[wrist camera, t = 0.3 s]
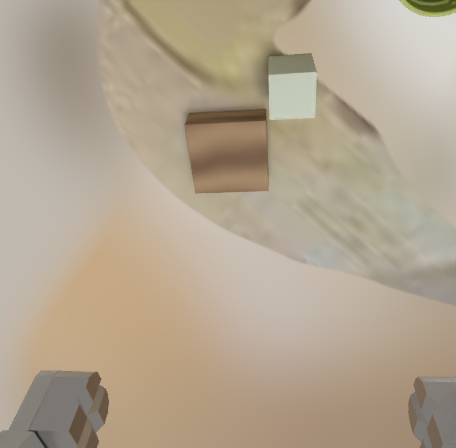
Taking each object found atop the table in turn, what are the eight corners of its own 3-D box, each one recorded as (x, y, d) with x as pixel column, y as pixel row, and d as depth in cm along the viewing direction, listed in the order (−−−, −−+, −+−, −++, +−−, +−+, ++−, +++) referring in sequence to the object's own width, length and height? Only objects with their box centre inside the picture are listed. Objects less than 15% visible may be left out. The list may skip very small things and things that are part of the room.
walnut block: (189, 112, 55) (184, 124, 52) (266, 108, 54) (266, 120, 51) (199, 178, 61) (195, 193, 58) (268, 175, 60) (268, 190, 57)
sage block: (268, 56, 50) (268, 74, 44) (311, 53, 49) (316, 71, 44) (269, 97, 53) (269, 119, 47) (310, 95, 52) (315, 117, 47)
